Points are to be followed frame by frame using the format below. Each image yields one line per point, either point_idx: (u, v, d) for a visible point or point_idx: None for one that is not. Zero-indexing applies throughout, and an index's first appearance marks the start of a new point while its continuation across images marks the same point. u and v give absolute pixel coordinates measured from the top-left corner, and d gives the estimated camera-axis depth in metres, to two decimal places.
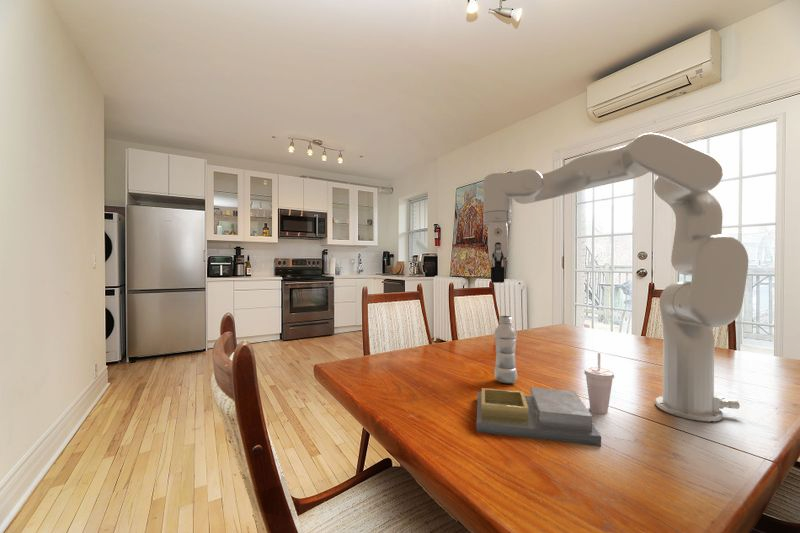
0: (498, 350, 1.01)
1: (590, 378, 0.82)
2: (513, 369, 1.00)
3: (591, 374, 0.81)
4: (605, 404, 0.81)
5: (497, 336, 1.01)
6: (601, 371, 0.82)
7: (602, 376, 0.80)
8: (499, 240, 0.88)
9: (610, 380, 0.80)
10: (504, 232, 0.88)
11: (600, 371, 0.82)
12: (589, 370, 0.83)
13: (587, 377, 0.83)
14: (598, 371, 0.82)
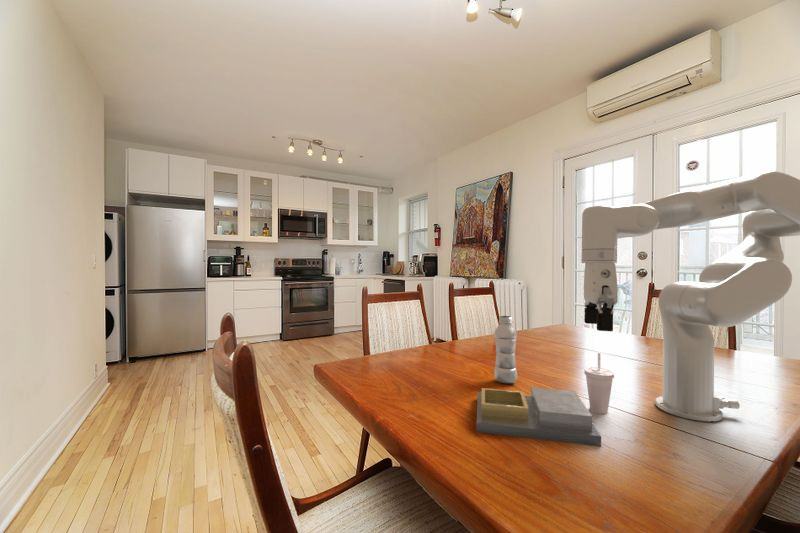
0: (498, 350, 1.01)
1: (590, 378, 0.82)
2: (513, 369, 1.00)
3: (591, 374, 0.81)
4: (605, 404, 0.81)
5: (497, 336, 1.01)
6: (601, 371, 0.82)
7: (602, 376, 0.80)
8: (607, 283, 0.77)
9: (610, 380, 0.80)
10: (613, 274, 0.77)
11: (600, 371, 0.82)
12: (589, 370, 0.83)
13: (587, 377, 0.83)
14: (598, 371, 0.82)
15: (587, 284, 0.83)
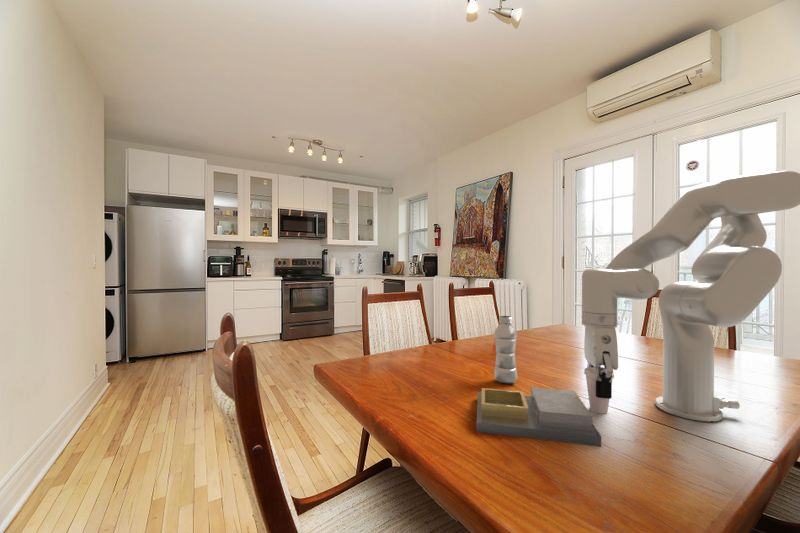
0: (498, 350, 1.01)
1: (590, 378, 0.82)
2: (513, 369, 1.00)
3: (591, 374, 0.81)
4: (605, 404, 0.81)
5: (497, 336, 1.01)
6: (601, 371, 0.82)
7: None
8: (608, 349, 0.78)
9: None
10: (613, 340, 0.78)
11: None
12: (589, 370, 0.83)
13: (587, 377, 0.83)
14: None
15: (588, 346, 0.83)
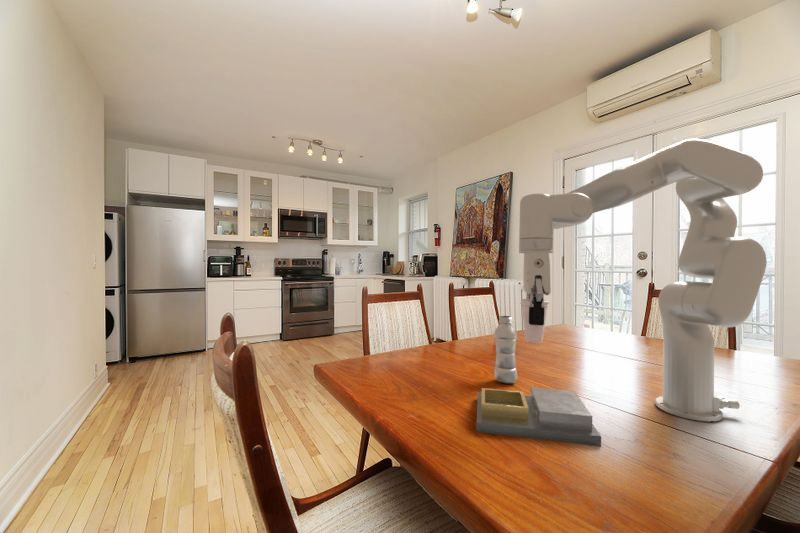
0: (498, 350, 1.01)
1: (525, 306, 0.79)
2: (513, 369, 1.00)
3: (525, 302, 0.79)
4: (539, 332, 0.78)
5: (497, 336, 1.01)
6: None
7: None
8: (540, 272, 0.75)
9: (544, 307, 0.78)
10: (546, 263, 0.75)
11: None
12: (525, 300, 0.81)
13: (522, 306, 0.80)
14: (533, 300, 0.80)
15: (524, 274, 0.81)
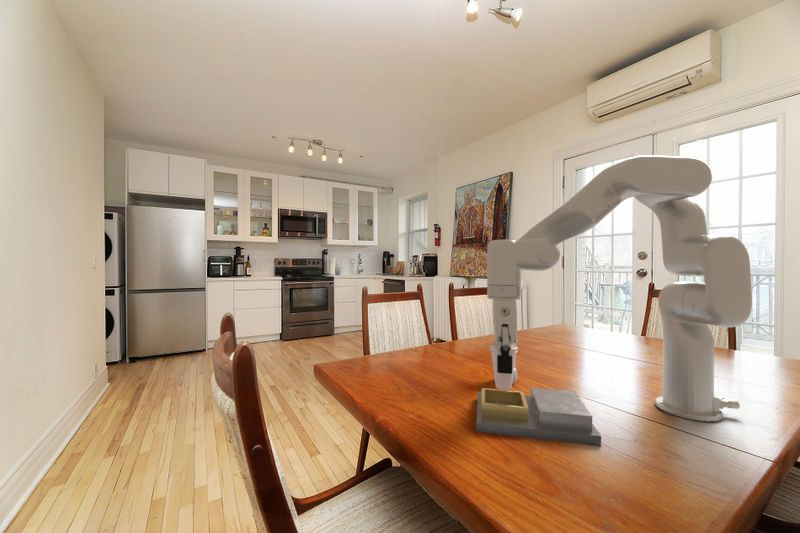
0: None
1: (493, 353, 0.78)
2: None
3: (494, 349, 0.78)
4: (507, 379, 0.77)
5: None
6: None
7: None
8: (506, 321, 0.74)
9: (512, 354, 0.77)
10: (512, 312, 0.74)
11: None
12: (494, 345, 0.80)
13: (491, 352, 0.80)
14: None
15: None
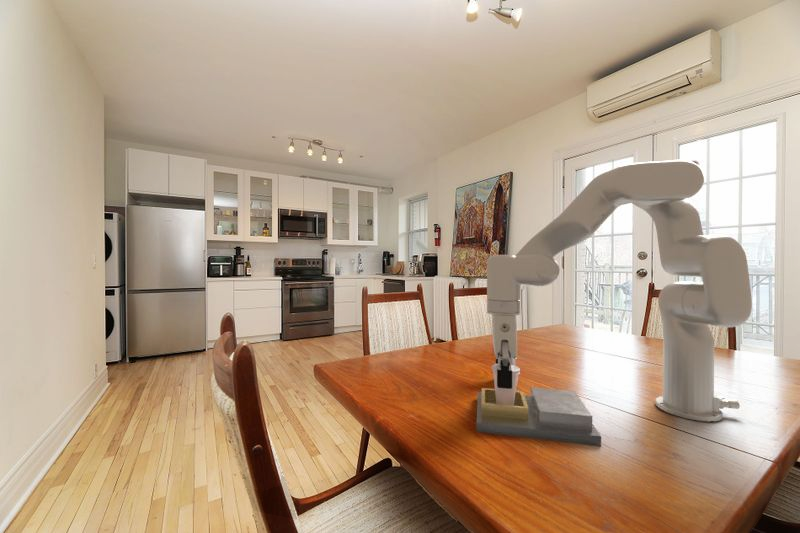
0: None
1: (495, 374, 0.78)
2: None
3: (496, 370, 0.78)
4: (509, 401, 0.77)
5: None
6: None
7: None
8: (506, 337, 0.74)
9: (514, 376, 0.77)
10: (512, 328, 0.74)
11: None
12: (496, 366, 0.80)
13: (493, 373, 0.80)
14: None
15: None
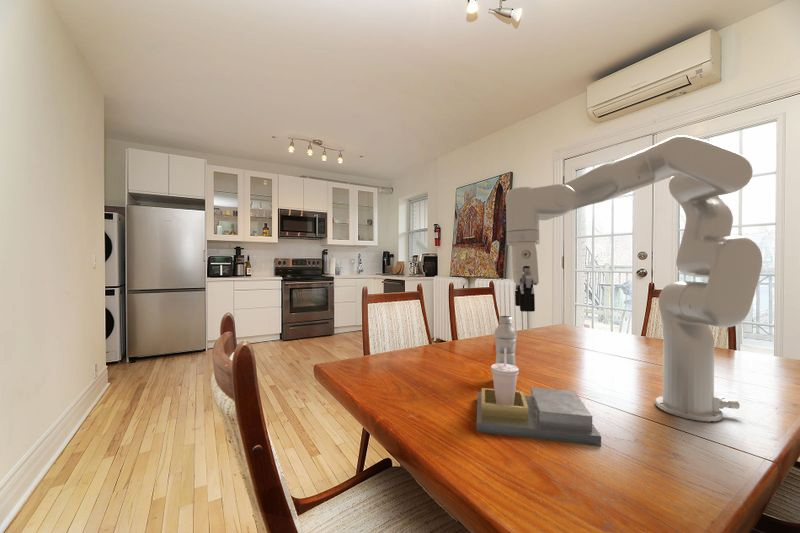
0: (498, 350, 1.01)
1: (494, 374, 0.78)
2: None
3: (495, 370, 0.78)
4: (508, 401, 0.77)
5: (497, 336, 1.01)
6: (506, 367, 0.79)
7: (504, 372, 0.77)
8: (528, 263, 0.78)
9: (513, 376, 0.77)
10: (533, 254, 0.78)
11: (505, 367, 0.79)
12: (495, 366, 0.80)
13: (492, 373, 0.80)
14: (503, 367, 0.79)
15: (513, 266, 0.83)
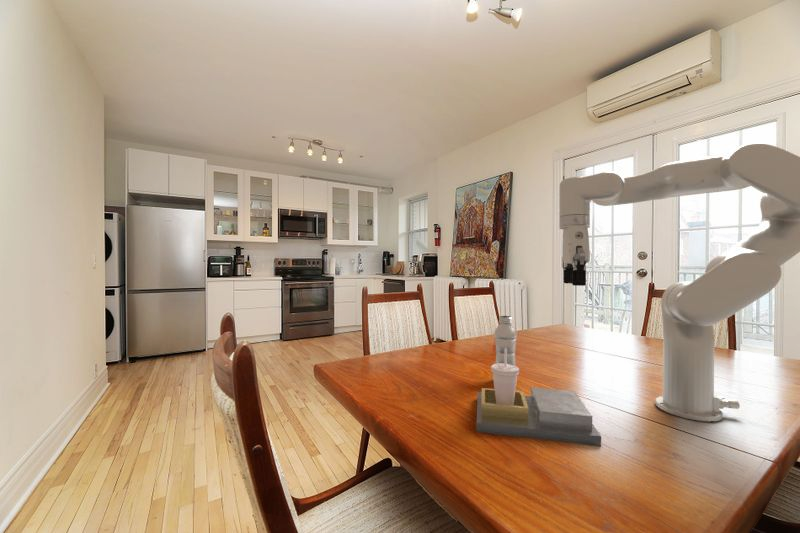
0: (498, 350, 1.01)
1: (494, 374, 0.78)
2: None
3: (495, 370, 0.78)
4: (509, 401, 0.77)
5: (497, 336, 1.01)
6: (506, 367, 0.79)
7: (504, 372, 0.77)
8: (580, 243, 0.89)
9: (513, 376, 0.77)
10: (585, 235, 0.89)
11: (505, 367, 0.79)
12: (496, 366, 0.80)
13: (493, 373, 0.80)
14: (503, 367, 0.79)
15: (564, 247, 0.94)
